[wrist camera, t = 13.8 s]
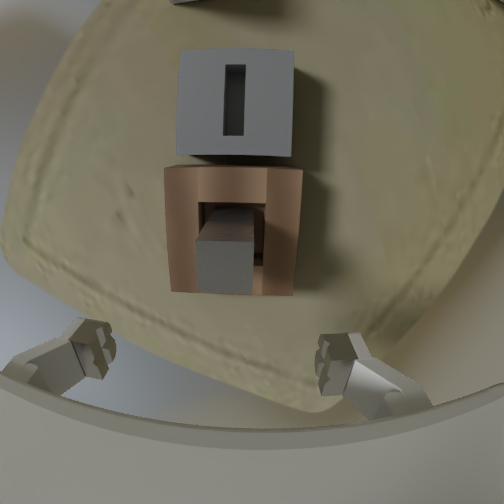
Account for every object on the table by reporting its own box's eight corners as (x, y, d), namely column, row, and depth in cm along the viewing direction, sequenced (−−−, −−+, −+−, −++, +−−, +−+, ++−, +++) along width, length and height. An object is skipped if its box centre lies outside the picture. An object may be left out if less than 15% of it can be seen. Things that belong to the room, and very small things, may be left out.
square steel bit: (253, 207, 26) (254, 242, 16) (252, 242, 27) (252, 294, 18) (215, 206, 26) (195, 240, 16) (216, 241, 27) (197, 292, 18)
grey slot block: (287, 64, 22) (293, 50, 18) (285, 155, 25) (290, 156, 21) (190, 63, 22) (180, 50, 18) (186, 154, 25) (175, 155, 21)
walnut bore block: (295, 166, 25) (302, 170, 22) (287, 276, 29) (292, 295, 25) (176, 164, 25) (164, 168, 21) (180, 273, 29) (171, 291, 25)
